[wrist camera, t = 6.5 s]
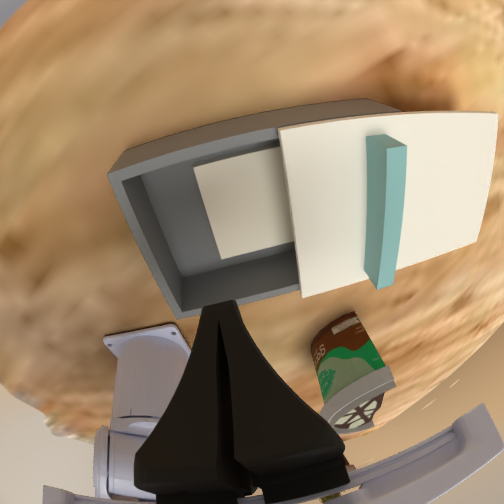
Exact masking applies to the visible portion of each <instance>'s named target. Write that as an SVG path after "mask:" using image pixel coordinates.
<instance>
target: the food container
mask: <svg viewBox="0 0 504 504" xmlns="http://www.w3.org/2000/svg"><path fill="white" fill-rule="evenodd" d="M311 353H312V357H313V361H314V364H315V368H316V372H317V376H318V380H319V384H320V388H321V392H322V396H323V400H324V404H325V405H324V406H323V408H322V409H321V413H320V414H321V417H323V418H324V419H325V420H326V421H328V423H329V424H330V425H331V427H332V428H333V429H334V430H335V431H336V432H337V434H349V433H354V432H359V431H362V430H365V429H368V428H371V427H374V424H373V421H372V418H373V415H374V413H375V412H376V411H377V410H378V409H379V408H380V407H381V404H382V400H383V396H384V393H385V392H386V391H388V390H390V389H392V388H395V387H396V385H395V382H394V378H393V375H392V373H391V370H390V367H389V365H388V366H385V364H384V362H383V360H382V359H381V357H380V355H379V353H378V351H377V350H376V348H375V346H374V344H373V343H372V341H371V339H370V337H369V336H368V334H367V332H366V330H365V329H364V327H363V325H362V324H361V322H360V320H359V318H358V317H357V315H356V313H355V312H351V313H349V314H346V315H343V316H342V317H340V318H338V319H336V320H334V321H333V322H331V323H330V324H328V325H327V326H326V327H325V328H323V329H322V330H321V331H320V332H319V333H318V335H317V336H316V337H315V338H314V340H313V342H312V345H311Z"/></svg>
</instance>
